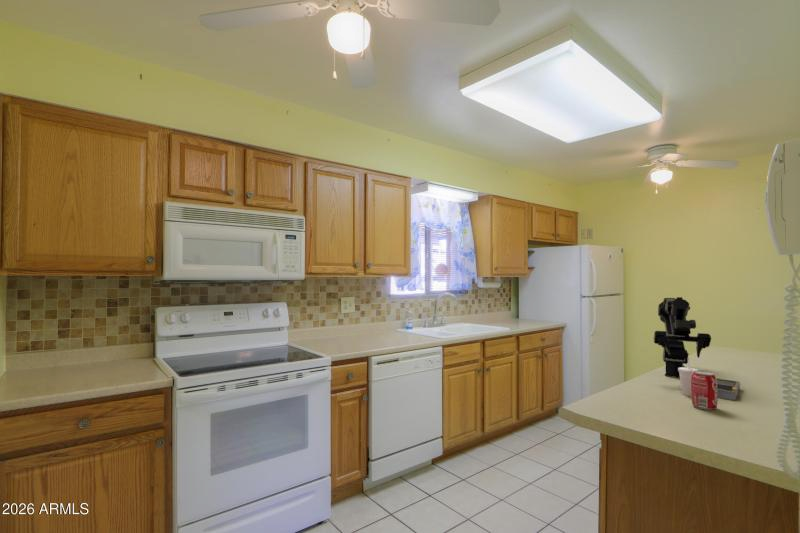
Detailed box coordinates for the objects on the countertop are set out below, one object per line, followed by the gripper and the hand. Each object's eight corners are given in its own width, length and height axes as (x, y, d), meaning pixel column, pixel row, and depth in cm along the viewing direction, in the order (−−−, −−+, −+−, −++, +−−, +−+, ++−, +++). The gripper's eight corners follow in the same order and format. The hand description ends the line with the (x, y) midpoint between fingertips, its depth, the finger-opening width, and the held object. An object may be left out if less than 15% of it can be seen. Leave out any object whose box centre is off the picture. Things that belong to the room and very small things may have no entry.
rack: (698, 394, 150) (698, 385, 150) (706, 384, 165) (706, 376, 165) (735, 400, 143) (735, 391, 143) (740, 389, 157) (740, 381, 157)
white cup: (680, 396, 148) (680, 358, 148) (676, 391, 154) (675, 355, 154) (701, 398, 146) (701, 360, 146) (695, 393, 152) (695, 356, 152)
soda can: (712, 405, 137) (712, 370, 138) (721, 412, 131) (721, 375, 131) (688, 403, 140) (688, 369, 140) (695, 409, 133) (695, 373, 133)
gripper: (654, 311, 166) (658, 341, 156) (709, 313, 158) (717, 345, 148) (652, 327, 173) (655, 358, 163) (705, 330, 165) (712, 362, 155)
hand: (684, 355), depth 157 cm, fingers open, 9 cm apart
